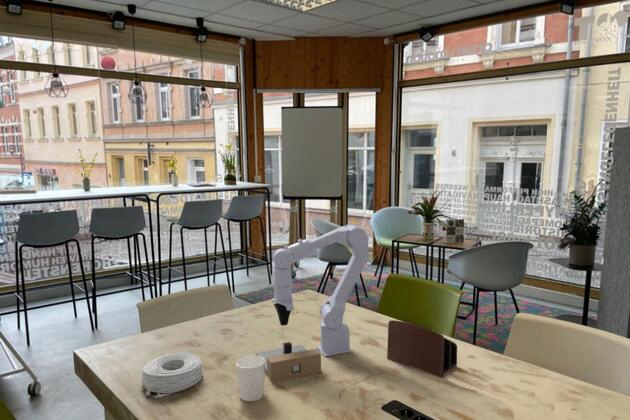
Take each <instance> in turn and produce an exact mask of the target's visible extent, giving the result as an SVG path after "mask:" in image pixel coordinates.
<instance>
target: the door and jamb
mask: <svg viewBox="0 0 630 420" xmlns="http://www.w3.org/2000/svg"><path fill="white" fill-rule="evenodd" d="M255 355H256V356H261V357H263V358H264V360H265V374H266V376H267V377H268V379H269V381H270V382H271V383H273V382H277V381H283V380H288V379H294V378H299V377H303V376H309V375H313V374H319V373H322V353H321V352H320V350H319V349H318V348H311V349H306V347H304V346H303V344H299V345H292V353H288V354H283V347H281V348H274V349H271V350H265V351H258V352H256V354H255ZM294 365H299V371H295V372H293V371H292V366H294Z"/></svg>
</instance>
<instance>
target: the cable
mask: <svg viewBox="0 0 630 420" xmlns="http://www.w3.org/2000/svg"><path fill="white" fill-rule="evenodd" d="M203 373H204V372H203V367H202V360H201V358H200V357H199V356H198V355H195V354H193V353H190V352H174V353H168V354H164V355H161V356H159V357H156V358H154V359H152V360H151V361H149V362H147V364H145V365H144V367H143V370H142V373H141V374H142V375H141V384H142V385H143V387H144V388H145V389H146V393H145V394H146V396H147V397H150V396H151V395H152V393H157V394H156V395H154V396H153V397H152V399H153V400H157V399H161V398H164V397H166V396H170V395H171V394H175V393H177V392H181V391H184V390H186V389H189V388H191V387H193V386H195V385H196V384H198V383H199V382H200V381H201V379H202V378H203ZM151 392H152V393H151Z"/></svg>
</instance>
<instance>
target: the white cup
mask: <svg viewBox="0 0 630 420" xmlns="http://www.w3.org/2000/svg"><path fill="white" fill-rule="evenodd" d="M235 366H236V379H237V385H238V388H237V389H238V393H239V394H238V395H239V399H241V400H242V401H245V402H255V401H258V400H260V399H262V398H263V396H264V395H265V393H264V392H265V391H264V390H265V389H264V388H265V374H266V372H265V360H264V358H263V357H261V356H257V354H255V355H253V354H250V355H244V356H242V357H240V358H238V359H237V360H236V362H235Z"/></svg>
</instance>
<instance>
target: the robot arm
mask: <svg viewBox="0 0 630 420" xmlns="http://www.w3.org/2000/svg"><path fill="white" fill-rule="evenodd" d="M369 241H370V238H369V237H368V234H367V232H366V231H365V230H364V229H363V228H361V227H360V226H359V225H357V224H354V223H348V224H346V225H343V226H340V227H338V228H335V229H333V230H332V231H329V232H327V233H324V234H323V235H321V236H318V237H316V238H314V239H312V240H308V239H301V238H299V239H298V240H297V242H296V243H293V244H290V245H285V246H284V248H278V249H276V250H275V251H274V252H273V255H272V260H273V262H274V266H273V270H274V271H273V282H274V283H273V285H274V286H273V287H274V288H273V290H274V292H273V298H271V302H272V303H273V306H274V308H275V310H276V312H277V317H278V320H279V321H278V322H279V324H280V325H281V327H283V326H287V325H288V323H289V319H290V315H291V312H292V311H294V304H293V303H294V302H293V294H292V293H293V292H292V290H293V289H292V287H293V286H292V283H293V282H292V270H291V269H292V267H291V266H292V264H293V263H295V264H296V262H299V261H302V260H304V259H306V258H308V257H311V256H313V253H314V252H315V251H316V250H319V249H321V248H323V247H326V246H329V245H333V244H334V243H339V244H344V245H347V244H348V245H349V249H350V251H351V255H352V256H351V257H350V259H349V261H348V262H347V264H346V265H347V266H346V267H345V269H344V271H343V274H342V275H341V277H340V279H339V281H338V283H337V285H336V288H335V290H334V291H333V293H332V295H331V296H329V297H328V298H327V300H326V301H325V302H324V303H323V304H322V305H321V306H320V309H319V314H320V316H321V318H322V320H321V322H320V345H317V346H316V349H317V350H318V351H319V352H320V353H321V355H323V356H324V357H331V356H335V355H341V354H342V355H343V354H346V353H347V354H348V353H351V349H350V348H351V345H350V341H351V340H350V338H351V335H350V329H349V326H348V324H347V323H346V322H343V321H344V314H345V312H346V304H347V301H348V300H349V297H350V295H351V293H352V291H353V290H354V288H355V286H356V283H357V282H358V279H359V277H360V275H361V274H362V272H363V269H364V268H365V266H366V263H367V262H368V259H369V256H370V253H369V252H370V251H369V250H370V249H369Z"/></svg>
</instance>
